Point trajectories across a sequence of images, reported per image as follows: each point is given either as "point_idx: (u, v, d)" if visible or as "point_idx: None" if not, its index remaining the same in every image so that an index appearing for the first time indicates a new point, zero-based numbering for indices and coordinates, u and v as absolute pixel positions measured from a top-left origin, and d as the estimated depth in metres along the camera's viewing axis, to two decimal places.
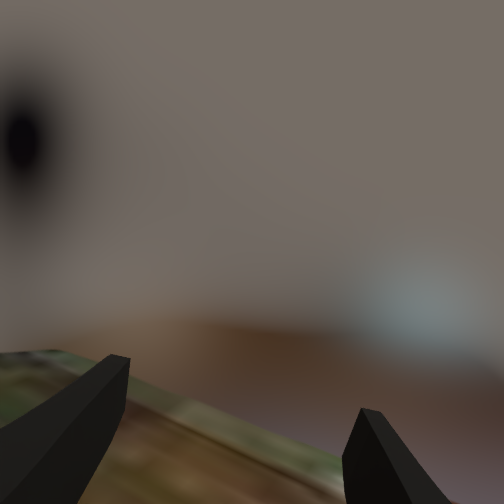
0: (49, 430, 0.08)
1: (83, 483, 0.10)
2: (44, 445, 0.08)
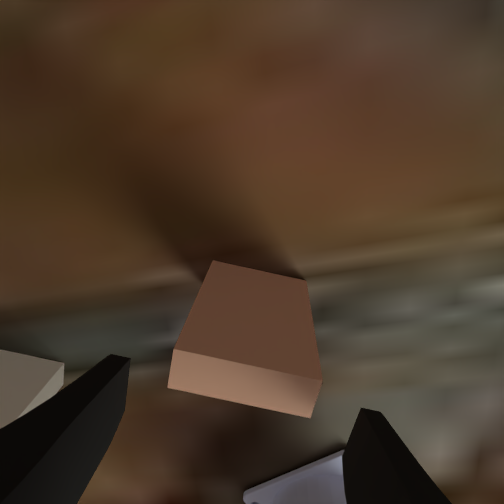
0: (49, 430, 0.08)
1: (82, 483, 0.10)
2: (44, 444, 0.08)
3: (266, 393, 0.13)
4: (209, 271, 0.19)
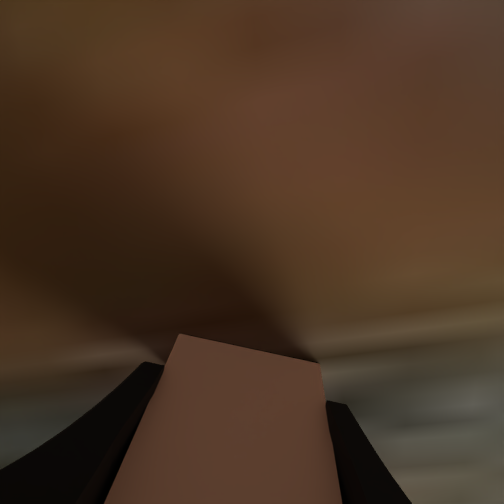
0: (98, 441, 0.08)
1: None
2: (95, 455, 0.08)
3: None
4: (170, 359, 0.12)
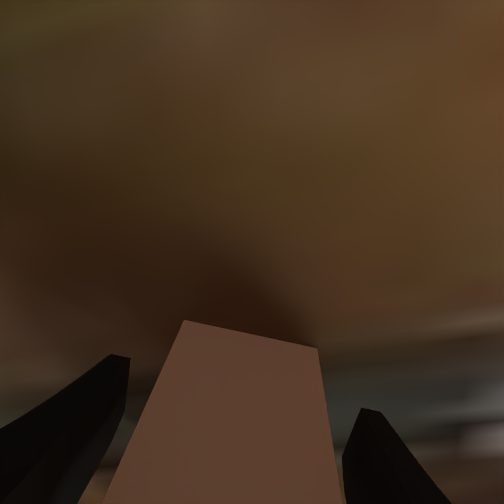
0: (49, 430, 0.08)
1: (82, 483, 0.10)
2: (44, 444, 0.08)
3: None
4: (176, 342, 0.13)
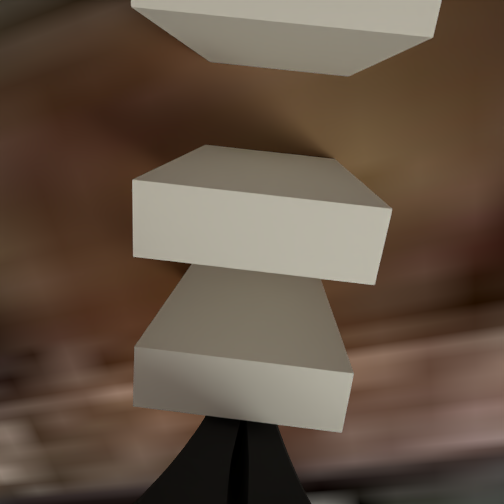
0: (216, 465, 0.08)
1: None
2: (217, 481, 0.08)
3: None
4: None
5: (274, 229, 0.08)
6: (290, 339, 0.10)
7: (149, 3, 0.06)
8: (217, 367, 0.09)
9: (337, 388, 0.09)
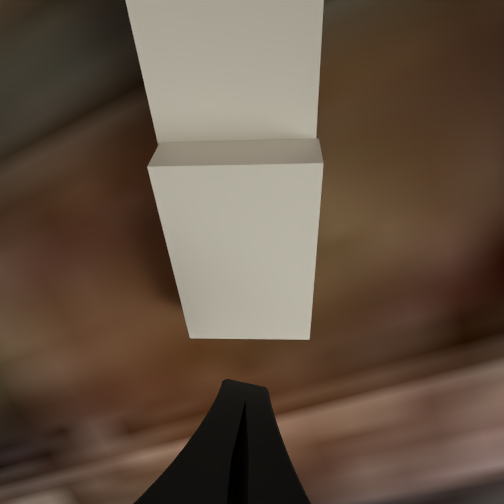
0: (216, 466, 0.08)
1: None
2: (217, 481, 0.08)
3: None
4: None
5: None
6: None
7: None
8: (219, 144, 0.12)
9: (310, 144, 0.12)
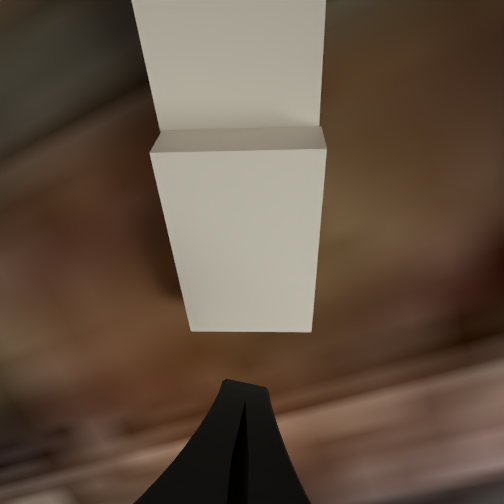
0: (216, 466, 0.08)
1: None
2: (217, 481, 0.08)
3: None
4: None
5: None
6: None
7: None
8: (221, 132, 0.12)
9: (312, 131, 0.12)
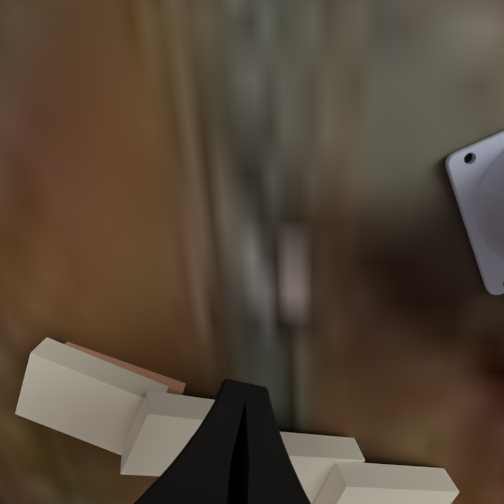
0: (216, 465, 0.08)
1: None
2: (218, 481, 0.08)
3: None
4: None
5: None
6: None
7: (122, 469, 0.22)
8: (319, 498, 0.24)
9: (337, 470, 0.23)
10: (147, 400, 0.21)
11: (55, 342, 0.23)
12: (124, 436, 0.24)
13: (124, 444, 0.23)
